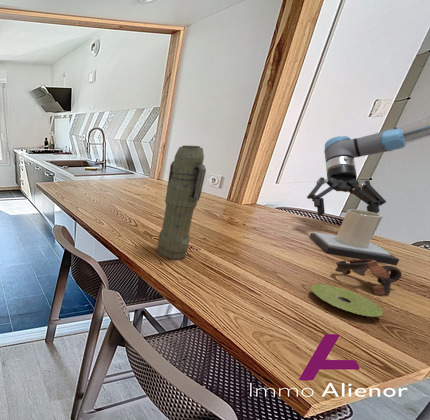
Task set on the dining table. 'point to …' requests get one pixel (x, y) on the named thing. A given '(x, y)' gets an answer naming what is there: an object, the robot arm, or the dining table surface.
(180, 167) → the thermos
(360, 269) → the brown branching piece
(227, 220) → the dining table surface
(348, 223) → the cup
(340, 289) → the green disc
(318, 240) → the kitchen scale
